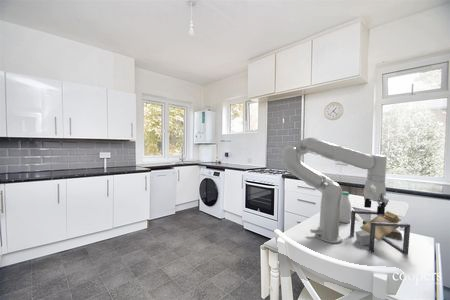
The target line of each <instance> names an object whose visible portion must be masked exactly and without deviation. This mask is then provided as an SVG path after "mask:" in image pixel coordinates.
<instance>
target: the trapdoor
mask: <svg viewBox="0 0 450 300" xmlns="http://www.w3.org/2000/svg"><path fill="white" fill-rule="evenodd" d="M384 215H385V216H382V215H379V216H378V215H376V217H373V218H372V219H371V220H368V221H369V222H368V223H366V224H365V225H363V224H362V225H361V226H360V229H361V231H364V230H365V231H366V232H368V233H369V234H370V227H371V222H384V223H401V221H402V219H401V218H400V217H399V216H398V215H397V214H395V213H392V212H390V211H385V213H384ZM395 229H396V230H398V229H399V227H394V226H376V228H375V240H377V241H380V240H382V239H381V238H383V237H387V236H386V235H387V234H389V233H390V232H392V231H394V230H395Z"/></svg>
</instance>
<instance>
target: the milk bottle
mask: <svg viewBox="0 0 450 300" xmlns="http://www.w3.org/2000/svg"><path fill="white" fill-rule="evenodd" d="M349 196H350V193H349V191H346V190H345V191H343V190H342V199H341V204H340V220H339V223H344V224H349V223H351V211H352V204H351V201H350V198H349Z"/></svg>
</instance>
